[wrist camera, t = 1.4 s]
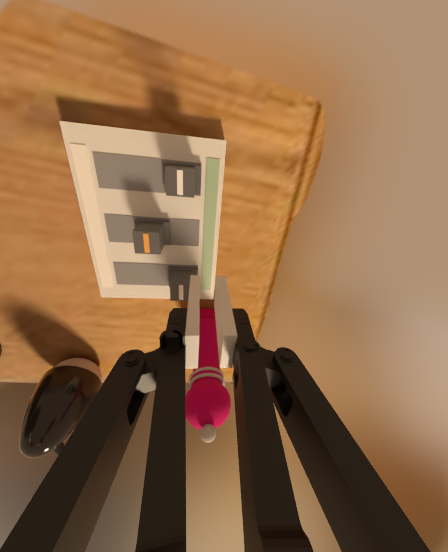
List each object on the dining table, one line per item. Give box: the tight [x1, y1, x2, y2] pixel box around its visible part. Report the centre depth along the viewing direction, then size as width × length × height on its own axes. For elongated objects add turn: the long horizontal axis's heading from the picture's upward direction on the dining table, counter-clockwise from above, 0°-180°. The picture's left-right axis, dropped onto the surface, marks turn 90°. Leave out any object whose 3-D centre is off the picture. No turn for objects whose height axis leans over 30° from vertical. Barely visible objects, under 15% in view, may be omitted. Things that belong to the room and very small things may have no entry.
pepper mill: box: [185, 308, 231, 443], centre depth 32 cm, size 7×7×20 cm
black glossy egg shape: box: [19, 358, 102, 458], centre depth 37 cm, size 10×10×15 cm
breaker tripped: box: [132, 219, 171, 255], centre depth 27 cm, size 4×3×5 cm
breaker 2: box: [168, 267, 198, 301], centre depth 31 cm, size 4×3×5 cm
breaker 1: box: [163, 162, 202, 198], centre depth 24 cm, size 4×3×5 cm
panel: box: [59, 121, 226, 299], centre depth 30 cm, size 18×23×2 cm
